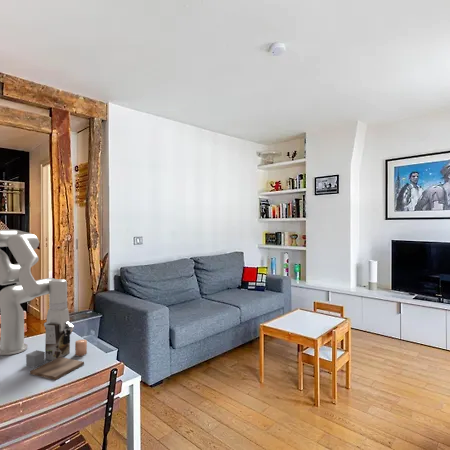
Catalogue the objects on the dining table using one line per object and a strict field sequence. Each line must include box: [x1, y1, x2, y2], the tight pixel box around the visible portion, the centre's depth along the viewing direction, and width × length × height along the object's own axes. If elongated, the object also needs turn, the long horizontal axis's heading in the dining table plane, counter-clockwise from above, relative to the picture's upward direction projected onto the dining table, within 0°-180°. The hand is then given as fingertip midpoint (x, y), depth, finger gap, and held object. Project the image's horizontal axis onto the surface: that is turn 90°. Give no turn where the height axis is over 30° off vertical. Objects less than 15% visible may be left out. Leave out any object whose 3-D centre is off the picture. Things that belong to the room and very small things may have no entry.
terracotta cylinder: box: [74, 339, 88, 357], centre depth 153 cm, size 5×5×6 cm
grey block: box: [25, 349, 46, 369], centre depth 141 cm, size 5×5×5 cm
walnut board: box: [29, 357, 85, 381], centre depth 137 cm, size 14×15×1 cm
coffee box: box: [44, 323, 71, 361], centre depth 150 cm, size 9×6×16 cm
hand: (58, 342), depth 150 cm, fingers open, 9 cm apart
